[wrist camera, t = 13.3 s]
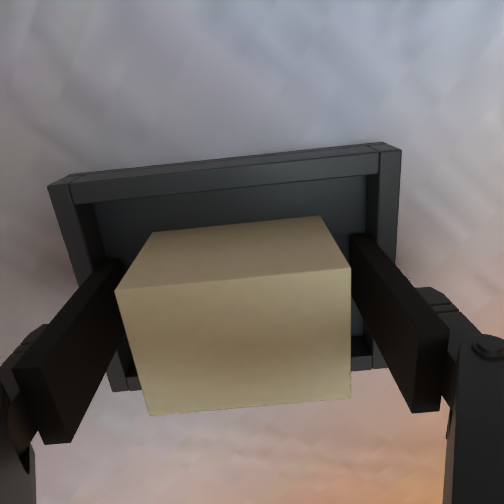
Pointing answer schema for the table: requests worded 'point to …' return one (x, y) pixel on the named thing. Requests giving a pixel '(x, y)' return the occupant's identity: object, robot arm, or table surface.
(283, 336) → the beige rectangular block
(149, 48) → the table surface
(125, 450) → the table surface
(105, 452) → the table surface
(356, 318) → the dark grey tray
